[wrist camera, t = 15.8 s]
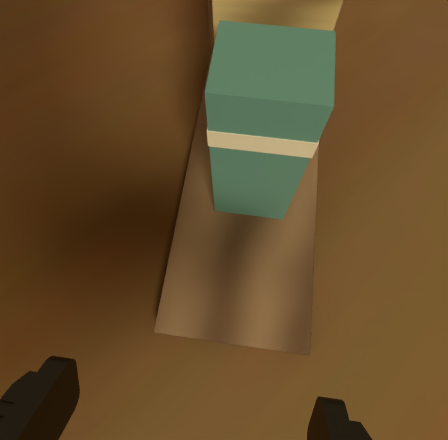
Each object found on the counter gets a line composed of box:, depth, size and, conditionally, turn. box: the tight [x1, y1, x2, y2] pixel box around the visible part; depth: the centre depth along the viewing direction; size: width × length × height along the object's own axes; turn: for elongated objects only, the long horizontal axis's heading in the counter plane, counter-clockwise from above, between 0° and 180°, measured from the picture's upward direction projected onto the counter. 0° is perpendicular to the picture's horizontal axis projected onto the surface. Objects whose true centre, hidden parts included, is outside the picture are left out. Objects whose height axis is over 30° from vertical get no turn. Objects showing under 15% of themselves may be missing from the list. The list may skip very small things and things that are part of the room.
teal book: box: [205, 20, 336, 219], centre depth 19 cm, size 5×4×12 cm
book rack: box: [154, 0, 344, 355], centre depth 18 cm, size 10×26×18 cm, turn 172°
